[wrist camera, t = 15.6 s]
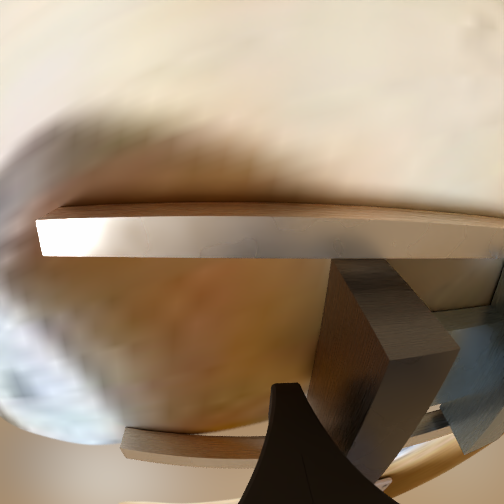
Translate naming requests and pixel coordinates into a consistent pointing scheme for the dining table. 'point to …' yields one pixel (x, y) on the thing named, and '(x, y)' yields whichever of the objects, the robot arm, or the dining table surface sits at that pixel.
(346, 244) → the vise base
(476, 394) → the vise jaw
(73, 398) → the dining table surface
